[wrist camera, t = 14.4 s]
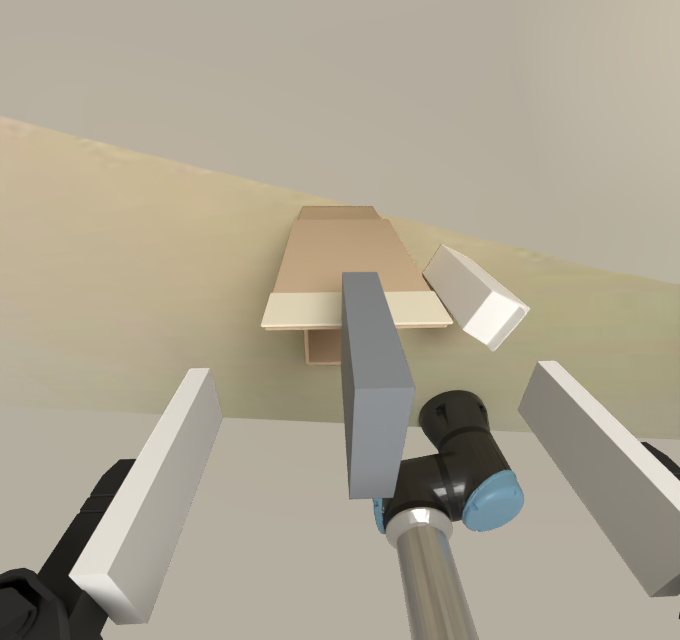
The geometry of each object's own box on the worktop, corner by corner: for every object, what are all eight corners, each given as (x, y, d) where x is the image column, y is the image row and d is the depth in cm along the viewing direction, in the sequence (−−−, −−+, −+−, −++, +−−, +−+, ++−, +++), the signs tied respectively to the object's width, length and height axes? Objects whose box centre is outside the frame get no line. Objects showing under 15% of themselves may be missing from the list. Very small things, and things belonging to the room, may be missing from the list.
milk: (422, 273, 55) (471, 344, 36) (441, 243, 53) (505, 302, 34) (449, 286, 57) (511, 361, 38) (470, 257, 54) (547, 322, 35)
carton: (365, 325, 60) (374, 363, 50) (309, 326, 60) (305, 365, 50) (372, 206, 49) (385, 224, 39) (302, 206, 49) (296, 224, 38)
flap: (499, 493, 14) (560, 384, 10) (239, 503, 14) (202, 392, 10) (386, 247, 41) (391, 190, 37) (295, 248, 40) (291, 190, 36)
